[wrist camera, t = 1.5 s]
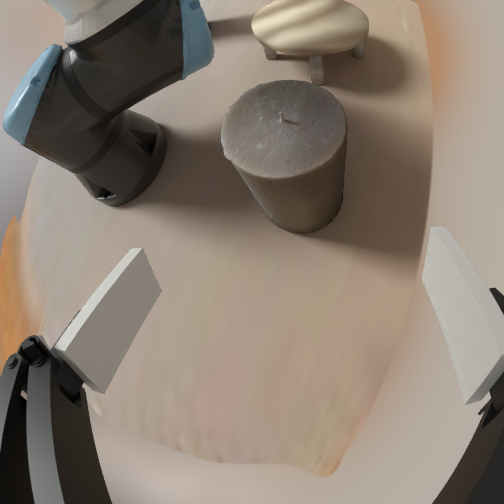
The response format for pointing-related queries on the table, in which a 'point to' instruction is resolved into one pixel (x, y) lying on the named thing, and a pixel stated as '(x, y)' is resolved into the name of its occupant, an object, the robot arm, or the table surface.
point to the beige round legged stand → (311, 30)
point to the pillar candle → (289, 151)
